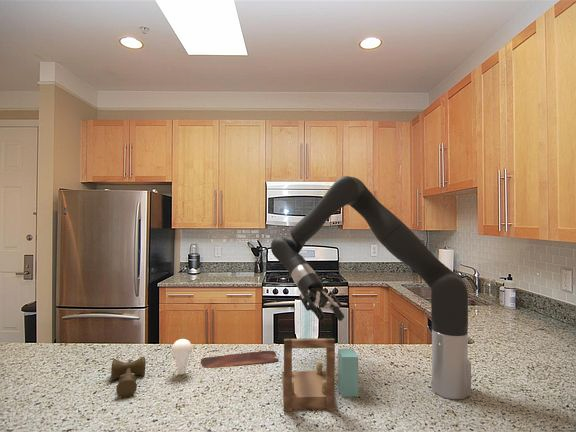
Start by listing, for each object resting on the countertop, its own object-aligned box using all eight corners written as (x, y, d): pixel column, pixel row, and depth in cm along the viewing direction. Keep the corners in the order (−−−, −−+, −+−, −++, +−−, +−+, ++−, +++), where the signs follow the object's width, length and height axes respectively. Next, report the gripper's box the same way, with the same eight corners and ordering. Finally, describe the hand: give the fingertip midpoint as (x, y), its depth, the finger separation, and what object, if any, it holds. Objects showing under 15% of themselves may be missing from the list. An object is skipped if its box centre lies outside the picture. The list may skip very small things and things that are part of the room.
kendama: (106, 403, 91) (112, 370, 109) (145, 397, 95) (145, 366, 113) (107, 381, 91) (113, 352, 109) (145, 375, 95) (146, 348, 113)
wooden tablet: (200, 366, 110) (200, 351, 120) (199, 373, 111) (200, 357, 120) (279, 360, 116) (274, 346, 126) (279, 366, 117) (274, 351, 126)
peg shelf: (325, 380, 103) (325, 321, 103) (334, 410, 87) (334, 340, 87) (282, 381, 102) (282, 321, 103) (283, 411, 86) (284, 340, 86)
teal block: (353, 386, 100) (353, 348, 100) (358, 396, 94) (358, 356, 94) (338, 386, 100) (338, 348, 100) (342, 397, 94) (342, 357, 94)
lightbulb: (185, 368, 111) (186, 334, 111) (195, 374, 107) (195, 339, 107) (167, 374, 107) (168, 339, 107) (177, 381, 102) (177, 344, 103)
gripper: (297, 270, 106) (323, 311, 96) (327, 273, 116) (354, 310, 105) (285, 287, 109) (310, 329, 98) (315, 289, 118) (341, 326, 108)
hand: (333, 319), depth 102 cm, fingers open, 8 cm apart
